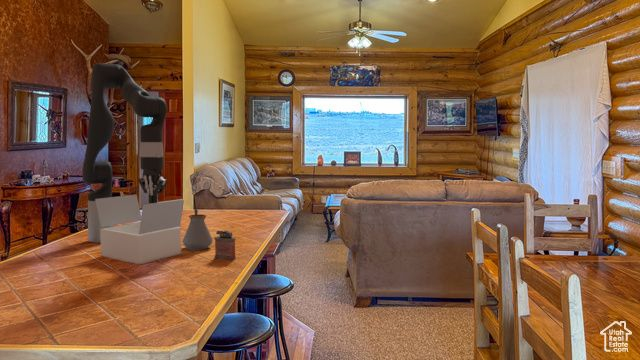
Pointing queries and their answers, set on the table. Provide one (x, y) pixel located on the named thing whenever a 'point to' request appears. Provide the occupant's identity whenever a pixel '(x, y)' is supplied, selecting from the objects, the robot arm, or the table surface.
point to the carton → (139, 243)
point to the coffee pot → (197, 233)
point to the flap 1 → (118, 210)
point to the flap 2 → (161, 215)
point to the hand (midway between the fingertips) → (153, 205)
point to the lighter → (225, 245)
